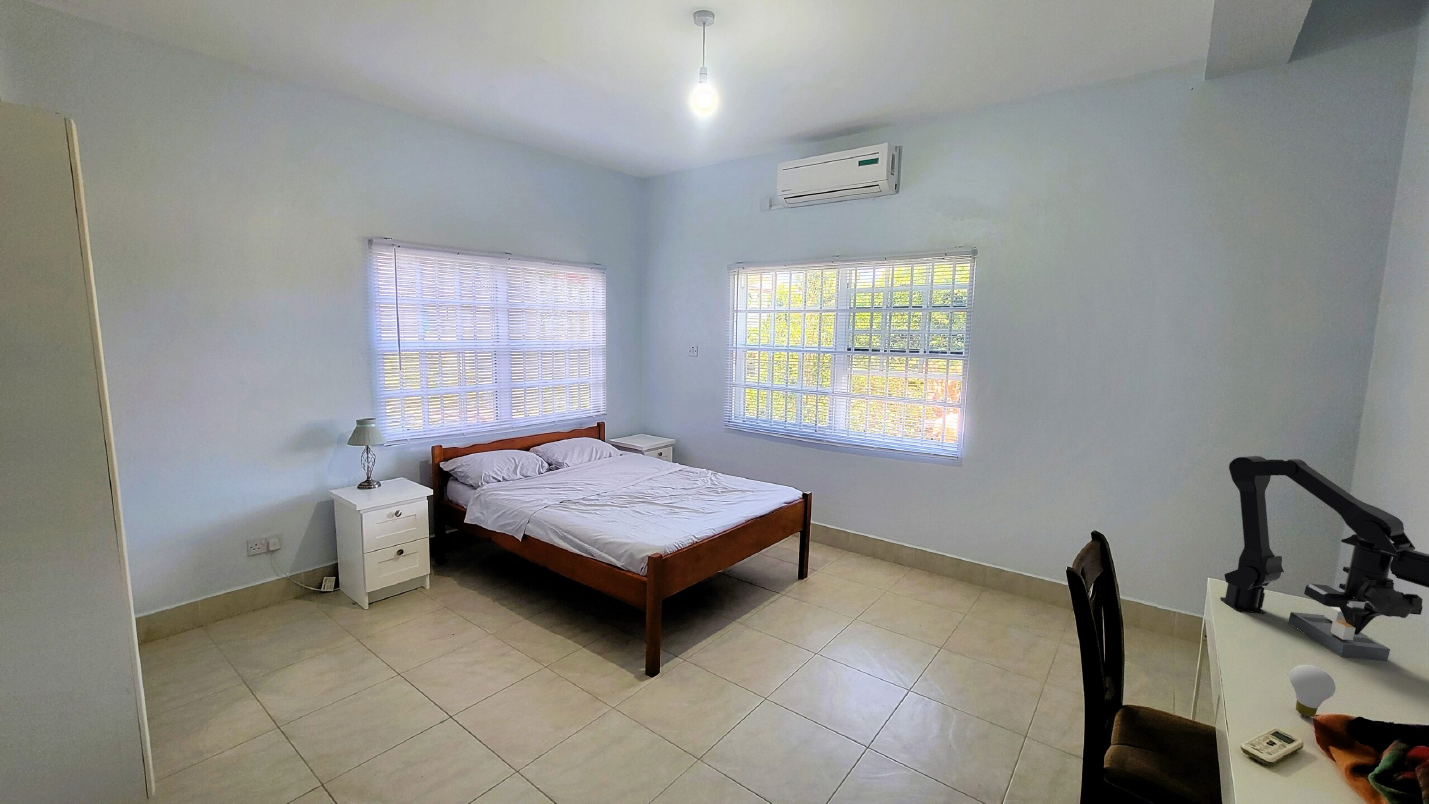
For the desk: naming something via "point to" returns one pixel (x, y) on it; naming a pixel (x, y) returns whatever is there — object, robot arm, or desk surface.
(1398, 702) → the desk surface
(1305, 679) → the light bulb
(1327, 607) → the handle
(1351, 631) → the handle
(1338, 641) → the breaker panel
